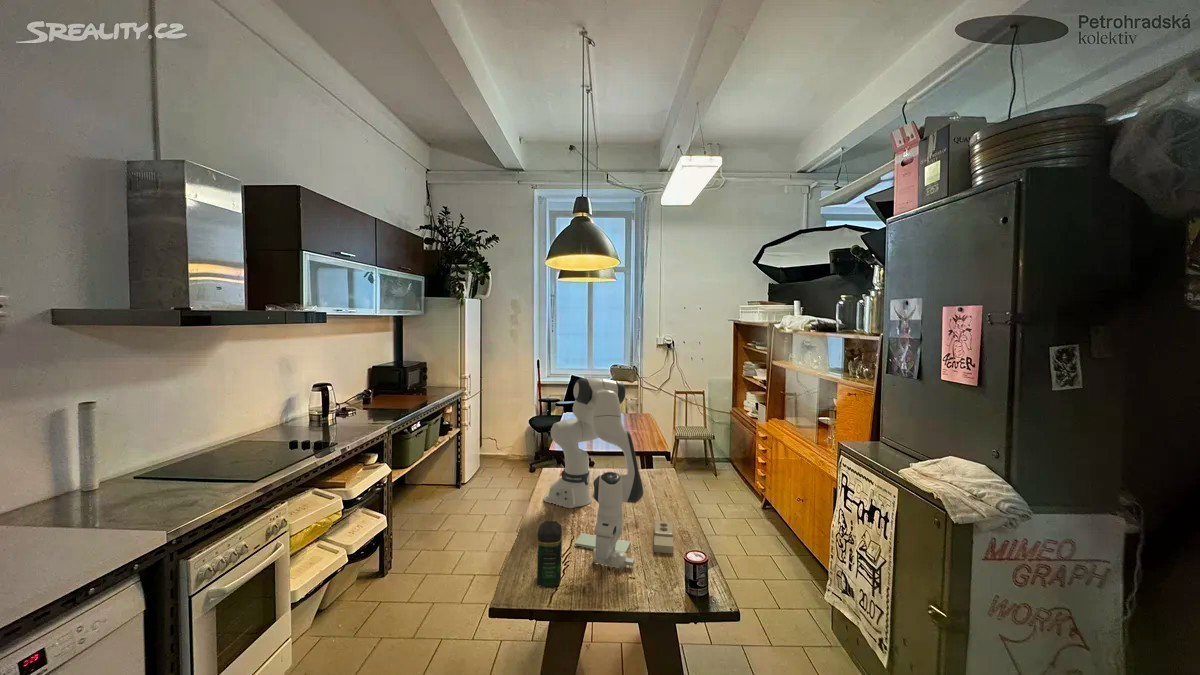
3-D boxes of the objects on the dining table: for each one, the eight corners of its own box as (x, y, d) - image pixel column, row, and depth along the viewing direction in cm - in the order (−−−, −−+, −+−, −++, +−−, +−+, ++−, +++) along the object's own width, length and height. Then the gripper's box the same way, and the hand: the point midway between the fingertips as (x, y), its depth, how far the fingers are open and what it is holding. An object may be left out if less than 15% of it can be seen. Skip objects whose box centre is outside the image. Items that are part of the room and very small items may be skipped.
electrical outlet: (654, 542, 165) (654, 520, 183) (653, 552, 165) (654, 529, 183) (673, 543, 164) (672, 521, 182) (673, 554, 164) (672, 531, 182)
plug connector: (591, 563, 157) (591, 552, 157) (595, 557, 161) (595, 546, 161) (632, 571, 153) (632, 559, 153) (634, 565, 157) (635, 554, 156)
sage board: (574, 545, 169) (574, 542, 169) (581, 536, 177) (581, 533, 176) (625, 555, 163) (625, 552, 163) (630, 544, 170) (630, 541, 170)
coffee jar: (560, 588, 142) (561, 532, 141) (535, 589, 142) (536, 532, 141) (562, 571, 152) (562, 518, 151) (538, 571, 152) (539, 518, 151)
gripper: (610, 507, 167) (609, 542, 168) (592, 532, 148) (592, 572, 149) (626, 509, 166) (625, 545, 166) (610, 535, 146) (610, 576, 147)
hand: (609, 558), depth 157 cm, fingers open, 4 cm apart
